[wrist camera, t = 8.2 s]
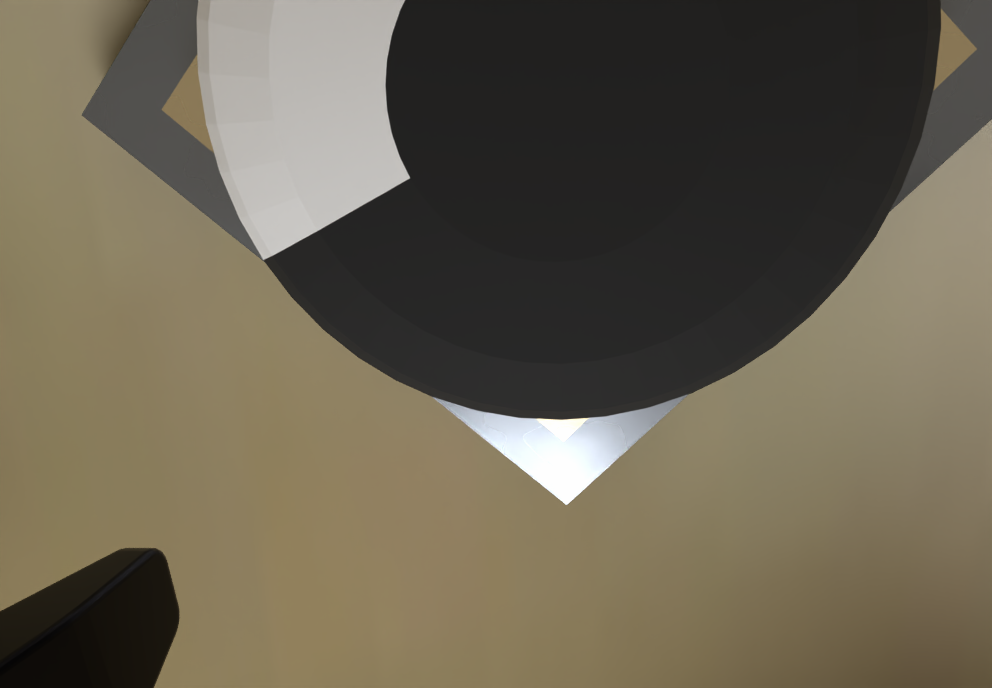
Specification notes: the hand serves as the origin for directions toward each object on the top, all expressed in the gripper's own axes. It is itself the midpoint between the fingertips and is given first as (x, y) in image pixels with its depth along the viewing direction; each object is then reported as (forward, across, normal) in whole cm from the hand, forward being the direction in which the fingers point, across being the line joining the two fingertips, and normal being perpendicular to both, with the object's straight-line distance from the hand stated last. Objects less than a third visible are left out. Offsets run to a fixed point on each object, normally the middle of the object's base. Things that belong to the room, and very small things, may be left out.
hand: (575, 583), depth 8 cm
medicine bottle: (+12, 0, -5) cm, 13 cm away
